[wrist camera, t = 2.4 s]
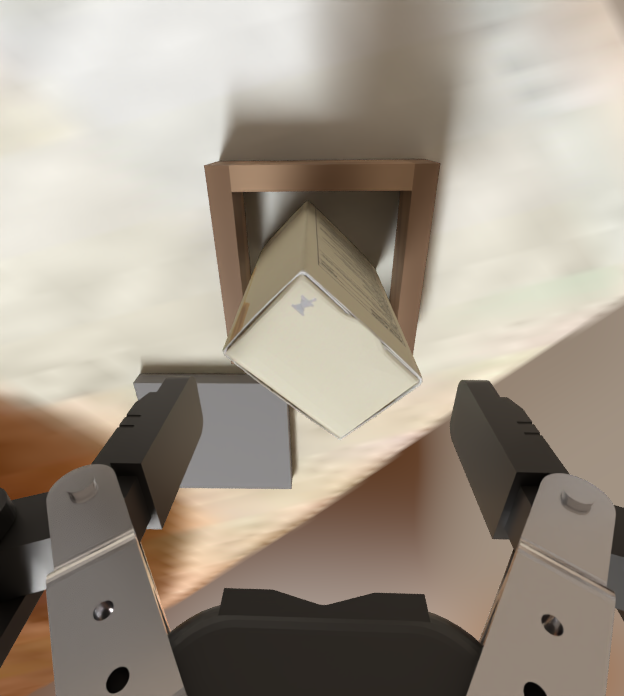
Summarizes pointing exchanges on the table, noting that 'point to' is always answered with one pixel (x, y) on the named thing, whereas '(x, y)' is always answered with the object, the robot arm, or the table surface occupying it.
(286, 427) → the rubber mat
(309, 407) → the skincare box
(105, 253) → the table surface
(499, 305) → the table surface
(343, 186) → the pocket holder
